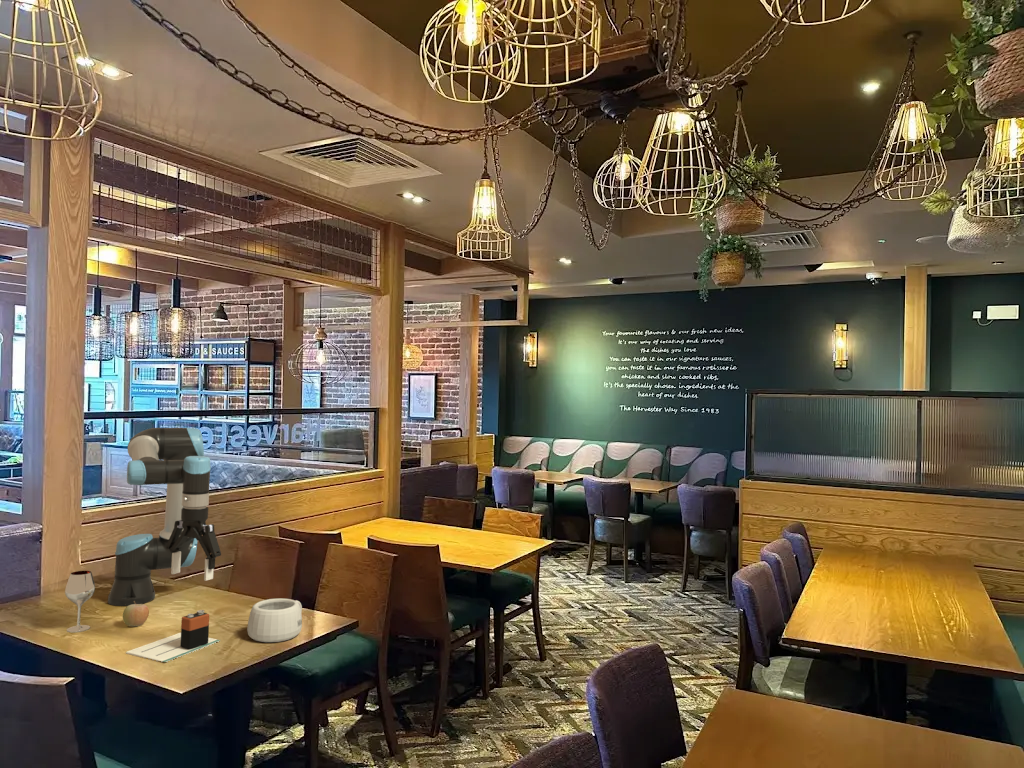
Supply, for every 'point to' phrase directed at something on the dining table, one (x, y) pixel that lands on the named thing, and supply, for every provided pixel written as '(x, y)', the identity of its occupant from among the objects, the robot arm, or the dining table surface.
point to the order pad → (166, 649)
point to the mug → (275, 620)
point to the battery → (194, 630)
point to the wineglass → (79, 594)
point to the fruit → (135, 614)
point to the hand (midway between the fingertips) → (191, 576)
